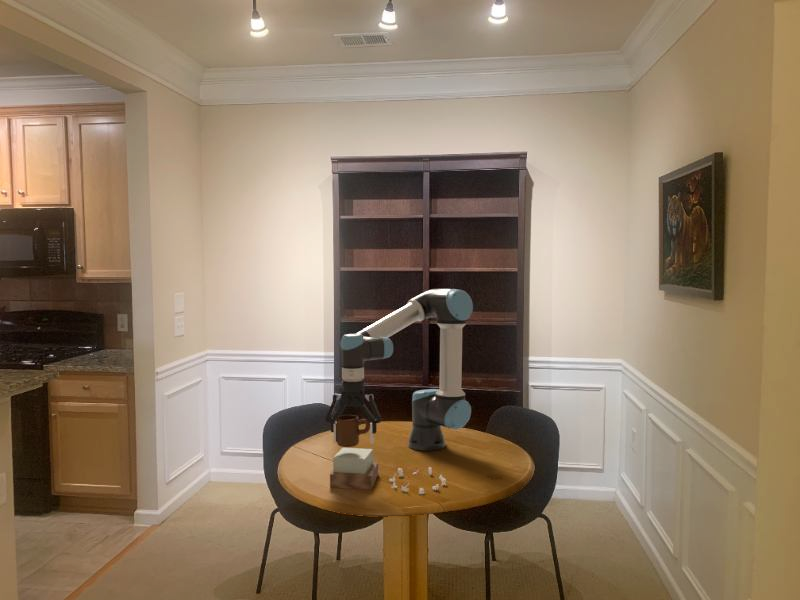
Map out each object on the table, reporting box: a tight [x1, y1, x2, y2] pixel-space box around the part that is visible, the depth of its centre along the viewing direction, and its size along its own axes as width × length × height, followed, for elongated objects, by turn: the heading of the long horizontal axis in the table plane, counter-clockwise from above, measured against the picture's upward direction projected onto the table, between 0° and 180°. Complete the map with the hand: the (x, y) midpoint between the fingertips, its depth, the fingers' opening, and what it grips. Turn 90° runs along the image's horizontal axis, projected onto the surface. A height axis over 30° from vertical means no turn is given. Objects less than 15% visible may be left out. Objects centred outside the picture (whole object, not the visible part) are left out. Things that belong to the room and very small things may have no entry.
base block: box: [329, 461, 379, 490], centre depth 199 cm, size 14×14×5 cm
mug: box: [336, 414, 371, 448], centre depth 199 cm, size 12×8×9 cm, turn 73°
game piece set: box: [388, 466, 447, 495], centre depth 197 cm, size 19×20×4 cm
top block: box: [332, 447, 374, 474], centre depth 200 cm, size 11×11×5 cm
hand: (353, 442), depth 199 cm, fingers closed on mug, 12 cm apart
